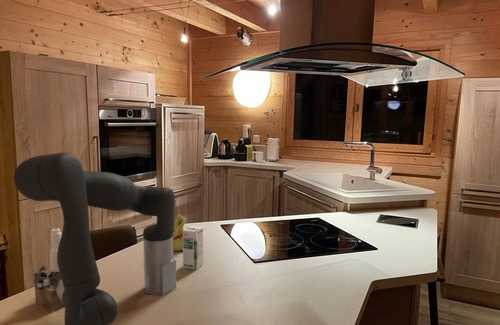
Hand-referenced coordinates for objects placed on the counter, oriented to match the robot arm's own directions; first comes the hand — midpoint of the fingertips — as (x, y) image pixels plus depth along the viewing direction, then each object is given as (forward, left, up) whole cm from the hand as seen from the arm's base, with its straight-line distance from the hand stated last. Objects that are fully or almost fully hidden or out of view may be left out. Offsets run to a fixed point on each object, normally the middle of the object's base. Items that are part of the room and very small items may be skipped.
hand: (59, 265), depth 102 cm
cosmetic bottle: (+3, -1, -12) cm, 13 cm away
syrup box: (-14, -42, -12) cm, 46 cm away
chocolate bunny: (+1, -51, -12) cm, 52 cm away
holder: (+3, -1, -12) cm, 12 cm away
